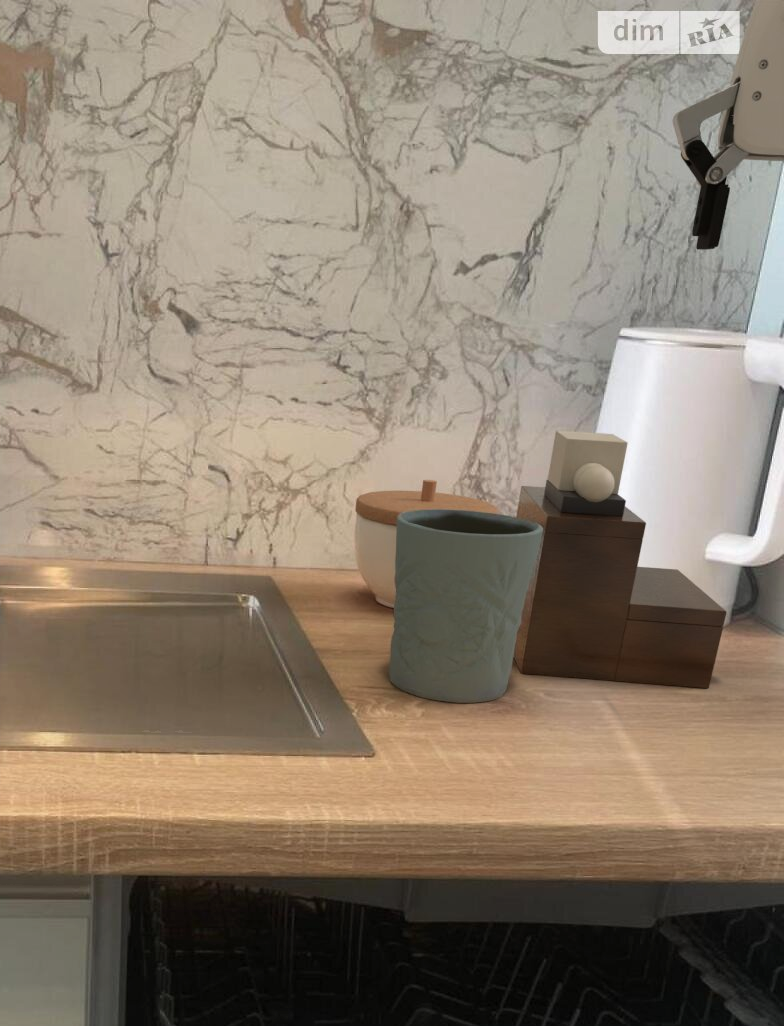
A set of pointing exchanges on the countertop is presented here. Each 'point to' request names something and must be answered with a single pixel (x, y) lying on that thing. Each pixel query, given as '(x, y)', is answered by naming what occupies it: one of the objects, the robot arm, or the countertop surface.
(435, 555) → the grey-green ceramic cup
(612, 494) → the cream and grey block
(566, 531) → the stepped wooden block
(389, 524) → the lidded bowl
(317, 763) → the countertop surface
